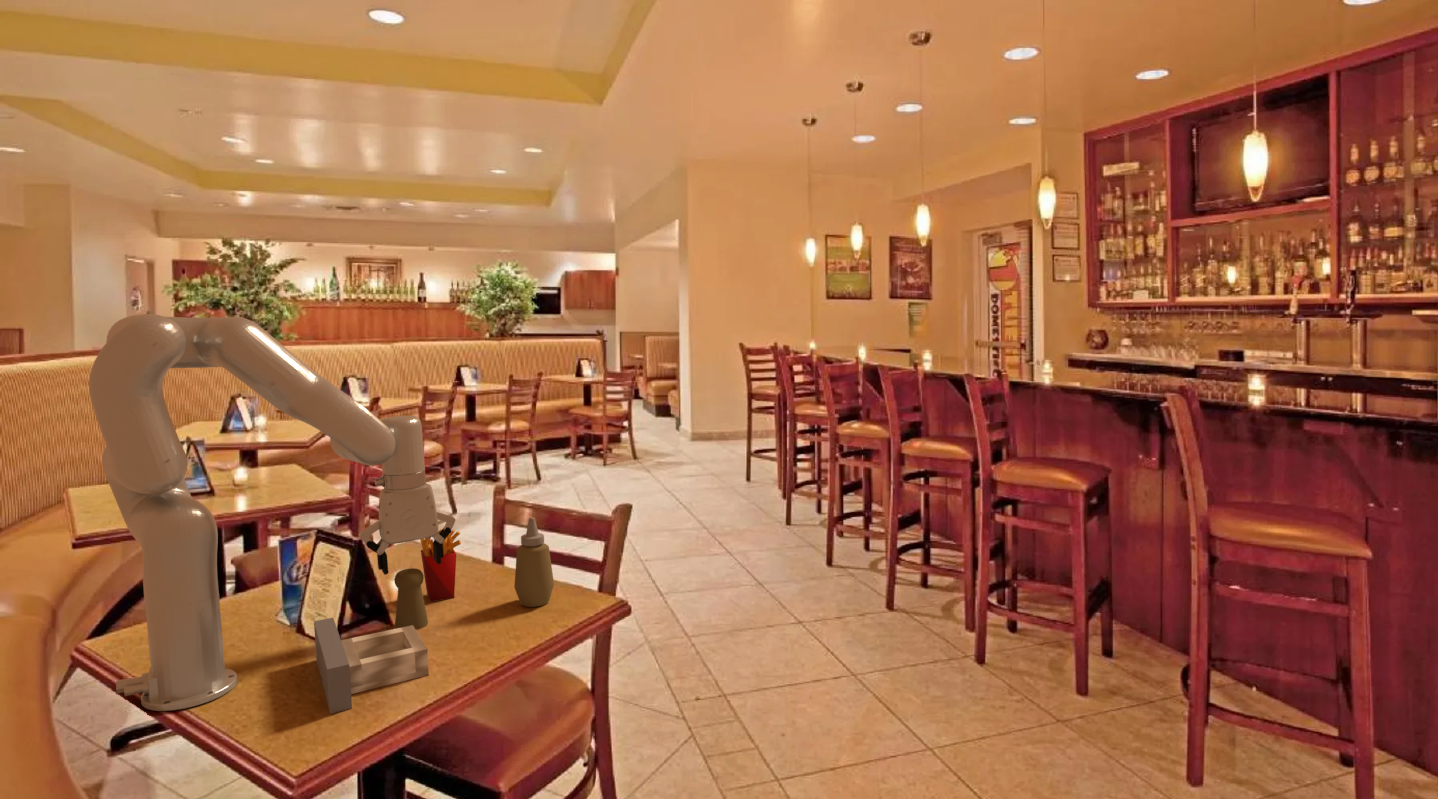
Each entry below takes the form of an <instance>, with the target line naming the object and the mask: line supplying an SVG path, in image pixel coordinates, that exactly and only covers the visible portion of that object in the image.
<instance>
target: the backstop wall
mask: <svg viewBox="0 0 1438 799" xmlns="http://www.w3.org/2000/svg"><path fill="white" fill-rule="evenodd" d="M313 627H314V628H313V629H314V642H315V655H316V656H315V658H316V663H317V667H318V671H319V674H320V679H321V683H322V687H323V692H324V694H325V695H324V696H325V699H326V702H327V703H326V704H327V707H328V711H329V714H330V715H331V714H335V713H339V712H344V711H347V710H351V709H352V708H353V702H352V701H353V700H352V694H351V683H350V667H349V662H348V659H347V656H346V653H345V650H344V647H343V645H342V642H341V640H342V639H341V637H340V634H339V630H338V627H337V625H336V621H335V619H334V617H329V618H324V619H318V620H314V621H313Z"/></svg>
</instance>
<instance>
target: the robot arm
mask: <svg viewBox="0 0 1438 799" xmlns="http://www.w3.org/2000/svg"><path fill="white" fill-rule="evenodd" d="M202 368H203V369H204V368H205V369H206V368H223V369H225V370H226V371H227V372H228V373H229V374H231V375H233V377H235V378H236V379H238V380H239V381H241V382H242V384H243V383H244V384H245V385H246V386H248V388H250V389H251V390H253V391H254V392H255V393H257V395H259V396H261V398H263V399H264V400H265V401H266V402H268V403H269V404H270V405H271V406H273V407H274V408H276V409H277V410H278V411H281V412H283V413H284V414H285V415H287V416H289V417H292V418H293V419H296V420H299V421H301V422H302V423H305V424H307V425H309V426H311V427H313V428H314V429H317V431H320V432H322V433H323V434H324V435H326V436H328V437H329V442H330V447H331V448H332V450H333V452H334V453H335V454H336V455H337V456H339V457H340V458H342V459H344V460H347V461H351V462H355V463H358V464H362V465H365V466H379V465H381V470H382V473H381V475H380V477H377V478H374V484H375V487H377V486H380V487H381V486H382V487H383V488H382V489H381V490H380V492H379V499H378V520H376V521H375V522H373V523H372V524H371V525H369V526H368V527H366V528H365V529H362V531H360V532H359V533H358V536H359V537H360V539H361V540H362V542H363V543H364V544H365V546H366V547H367V548H368V549H370V550H371V551H373V552H374V553H376V557H377V567H378V570H379V571H381V572H382V573H383V575H384V576H385V575H388V574H389V565H388V554H387V552H386V550H387V548H388V547H389V546H390V545H395V544H396V545H397V544H402V543H407V542H413V541H418V540H419V541H420V539H424V540H425V538H429V537H431V538H433V553H434V560H435V562H436V563H437V564H441V558H443V557H444V554H443V543H444V541H445V539H446V538H447V536H448V535H449V534H450V533H451V531H452V530H453V528H454V525H455V522H456V518H455V517H454V516H451V515H449V514H446V513H443V512H439V511H437V506H436V501H435V495H434V492H433V488H432V485H431V484H430V483H427V477H426V476H427V475H426V466H425V464H426V463H425V452H424V451H425V450H424V441H423V439H424V438H423V426H422V421H421V419H420V418H419V417H417V416H415V415H396V416H395V415H394V416H389V417H385V418H382V419H381V418H380V419H379V418H378V417H377V416H376V415H374V414H373V412H371V411H370V410H369V409H368V408H366V407H365V406H364V405H362V404H361V403H360V402H358V401H357V400H355V399H354V398H353V397H351V396H350V395H349V394H347V393H346V392H344V391H343V390H342V389H340V388H339V387H337V386H335V385H334V384H333V383H331V382H330V381H329V380H327V379H326V378H325V377H323V376H321V375H320V374H319V373H317V372H316V371H315V370H313V369H312V368H311V367H310V366H308V365H307V364H306V363H304V362H303V361H302V360H301V359H300V358H298V357H297V356H296V354H294V353H293V352H291V351H290V350H289V349H288V348H286V347H285V346H284V345H283V344H282V343H280V341H279V340H278V339H276V338H275V337H273V336H272V335H271V334H270V333H268V332H267V331H266V330H265V329H264V328H262V327H261V326H260V325H258V324H257V323H255V322H254V321H252V320H250V319H248V318H244V317H242V316H225V317H221V316H220V317H183V316H181V317H180V316H164V315H159V314H155V313H153V314H149V313H147V314H136V315H135V314H134V315H129V316H126V317H123V318H120V320H119V319H118V321H116V322H115V323H113V325H112V326H111V327H110V329H109V330H108V332H107V335H106V343H105V344H104V345H103V346H102V348H101V349H100V351H98V354H97V355H96V357H95V360H94V362H93V365H92V367H91V371H90V375H89V381H88V391H89V397H90V402H91V406H92V408H93V410H94V415H95V417H96V420H97V423H98V425H99V429H100V432H101V434H102V438H103V440H104V442H105V448H103V449H104V450H103V453H102V457H101V458H102V459H101V461H102V467H103V471H104V474H105V477H106V479H107V483H108V484H109V486H110V489H111V492H112V495H113V497H114V500H115V501H116V504H117V506H118V509H119V511H120V514H121V516H122V518H123V520H124V523H125V525H126V527H127V529H128V531H129V533H130V535H131V536H132V537H133V538H134V539H135V541H136V542H138V544H140V546H141V550H142V551H141V552H142V585H143V586H142V587H143V596H144V597H143V599H144V606H145V616H146V627H147V638H148V639H147V640H148V650H149V659H150V660H149V662H150V667H149V671H148V672H144V673H141V676H137V677H132V678H131V677H129V678H124V679H119V680H116V682H115V686H116V687H115V690H116V694H122V693H124V697H128V696H133V695H136V694H140V693H141V696H140V704H141V706H142V707H143V708H145V709H147V710H150V711H156V712H166V711H167V712H169V711H178V710H185V709H189V708H192V707H196V706H200V705H202V704H206V703H208V702H212V701H213V700H217V699H218V698H220V697H222V696H224V695H225V694H228V692H230V691H231V690H232V689H234V687H235V686H236V685H237V683H238V675H237V672H236V671H234V670H233V669H231V668H230V669H229V668H226V666H225V664H226V662H225V651H224V642H223V641H224V640H223V627H222V616H221V614H222V613H221V602H220V601H221V600H220V593H219V592H220V591H219V580H218V542H219V541H218V539H219V537H218V536H219V532H218V525H217V522H216V521H217V520H216V519H215V516H214V515H213V513H212V512H211V510H210V509H209V508H208V507H207V506H206V505H204V504H203V503H202V502H200V501H198V500H196V499H195V498H193V497H192V494H191V492H190V490H189V487H188V484H187V482H186V479H185V476H186V475H187V471H188V456H187V454H186V451H185V450H184V447H183V446H182V443H181V441H180V438H179V435H178V433H177V431H176V428H175V426H174V423H173V421H172V418H171V415H170V413H169V409H168V406H167V402H166V401H165V397H164V396H165V395H164V391H163V386H164V385H163V383H164V379H165V376H166V375H167V373H168V372H169V370H170V369H202ZM439 521H441V522H445V525H444V527H443V528H441V529H442V530H441V531H440V533H438V532H439ZM377 531H379V536H380V537H381V538H380V539H379V540H378V542H375V541H374V540H372V539H371V537H370V536H372V535H373V534H374V533H376V532H377Z"/></svg>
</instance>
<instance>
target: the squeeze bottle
mask: <svg viewBox="0 0 1438 799" xmlns="http://www.w3.org/2000/svg"><path fill="white" fill-rule="evenodd" d="M520 543H521V545H519V546H518V547H517V548H516V554H515V555H516V557H515V572H514V591H515V592H516V595H517V598H518V600H519V603H520V605H521V606H523V607H527V608H529V607H530V608H532V607H533V608H534V607H540V606H544V605H546V604H548V603H549V601H551V600H550V599H551V597H552V593H553V589H554V586H555V582H554V575H553V574H554V573H553V568H552V566H553V565H552V560H551V553H550V552H551V551H550V546H549V545H548V544H546V543H545V535H544V533H541V532H539V529H538V525H537V522H536V518H535V517H529V518H528V521H527V527H526V533H525V534H522V535H521V536H520Z"/></svg>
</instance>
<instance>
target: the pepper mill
mask: <svg viewBox="0 0 1438 799" xmlns="http://www.w3.org/2000/svg"><path fill="white" fill-rule="evenodd" d="M424 580H425V576H424V572H423V571H422V570H420V569H419V568H415V567H413V568H412V567H411V568H405V569H401V570H399V571H398V572H396V574H395V576H394V580H393V581H394V584H395V587H396V588H397V596H396V611H395V619H394V620H395V621H394V629H397V628H402V627H407V626H411V625H413V626H414V628H415V629H416V631H417V630H420V629H421V630H422V629H423V628H424V627H425V628H426V627H427V626H428V625H429V619H428V614H427V609H426V605H425V599H424V595H423V594H424V593H423V591H422V590H423V589H422V585H423V582H424Z"/></svg>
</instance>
